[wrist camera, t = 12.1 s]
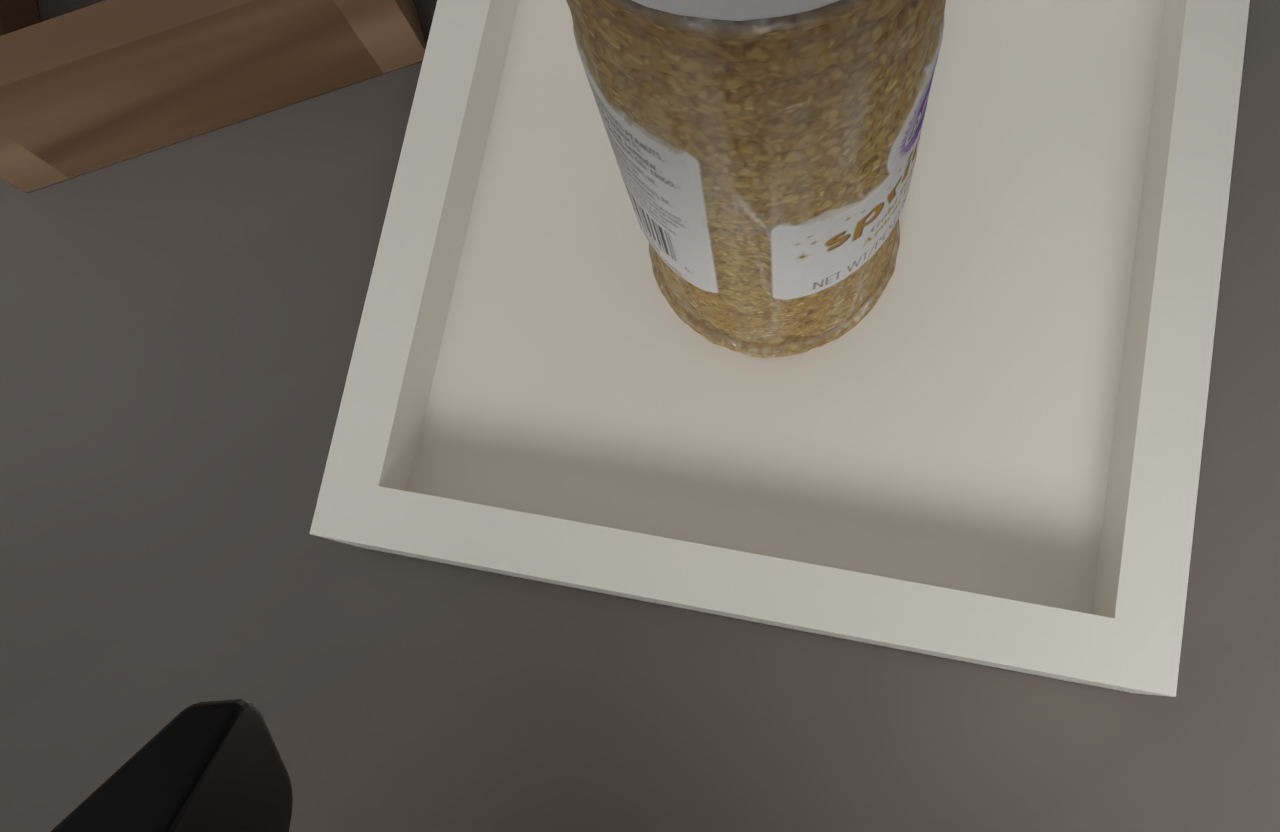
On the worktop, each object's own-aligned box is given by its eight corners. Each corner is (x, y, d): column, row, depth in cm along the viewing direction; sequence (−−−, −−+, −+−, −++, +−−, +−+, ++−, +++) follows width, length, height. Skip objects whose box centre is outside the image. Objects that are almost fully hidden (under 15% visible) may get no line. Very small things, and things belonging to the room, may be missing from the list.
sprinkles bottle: (906, 355, 21) (1095, -150, 8) (649, 367, 21) (426, -87, 8) (890, 114, 22) (1035, -695, 9) (644, 132, 22) (437, -606, 9)
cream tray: (1129, 692, 20) (1175, 697, 18) (361, 547, 23) (309, 534, 20) (1213, -44, 23) (1263, -128, 20) (513, -109, 25) (483, -192, 23)
